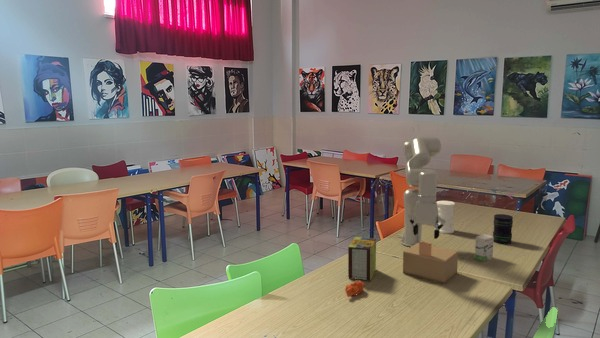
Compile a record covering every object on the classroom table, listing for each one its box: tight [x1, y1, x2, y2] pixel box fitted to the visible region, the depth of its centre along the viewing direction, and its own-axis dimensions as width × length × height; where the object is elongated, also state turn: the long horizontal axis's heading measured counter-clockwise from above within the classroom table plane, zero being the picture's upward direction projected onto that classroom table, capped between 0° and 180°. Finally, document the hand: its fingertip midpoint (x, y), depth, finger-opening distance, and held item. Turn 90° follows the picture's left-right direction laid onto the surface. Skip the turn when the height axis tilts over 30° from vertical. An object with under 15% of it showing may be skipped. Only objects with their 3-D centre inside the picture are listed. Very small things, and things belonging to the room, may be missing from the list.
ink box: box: [474, 233, 494, 262], centre depth 226 cm, size 9×5×12 cm, turn 123°
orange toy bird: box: [344, 280, 365, 298], centre depth 188 cm, size 5×8×12 cm
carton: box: [402, 252, 459, 285], centre depth 208 cm, size 20×16×10 cm
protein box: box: [347, 236, 377, 282], centre depth 208 cm, size 10×15×16 cm
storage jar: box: [492, 213, 514, 245], centre depth 252 cm, size 10×10×15 cm
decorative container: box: [436, 200, 456, 235], centre depth 273 cm, size 12×12×18 cm
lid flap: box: [402, 240, 459, 262], centre depth 207 cm, size 20×16×7 cm
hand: (425, 236), depth 200 cm, fingers open, 9 cm apart
